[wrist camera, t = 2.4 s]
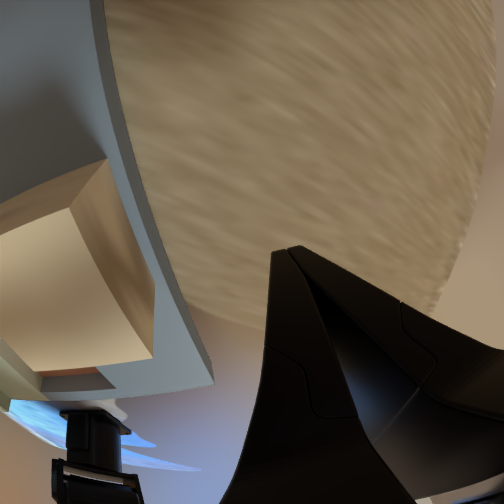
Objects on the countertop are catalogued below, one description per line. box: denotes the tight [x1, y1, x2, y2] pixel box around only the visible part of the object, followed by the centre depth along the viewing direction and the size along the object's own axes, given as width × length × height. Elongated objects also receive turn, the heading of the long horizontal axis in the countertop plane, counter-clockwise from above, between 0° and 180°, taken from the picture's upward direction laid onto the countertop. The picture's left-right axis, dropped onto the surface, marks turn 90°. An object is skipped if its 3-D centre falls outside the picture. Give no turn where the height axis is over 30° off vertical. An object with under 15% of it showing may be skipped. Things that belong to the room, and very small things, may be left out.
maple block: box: [0, 158, 156, 371], centre depth 9 cm, size 6×6×4 cm
